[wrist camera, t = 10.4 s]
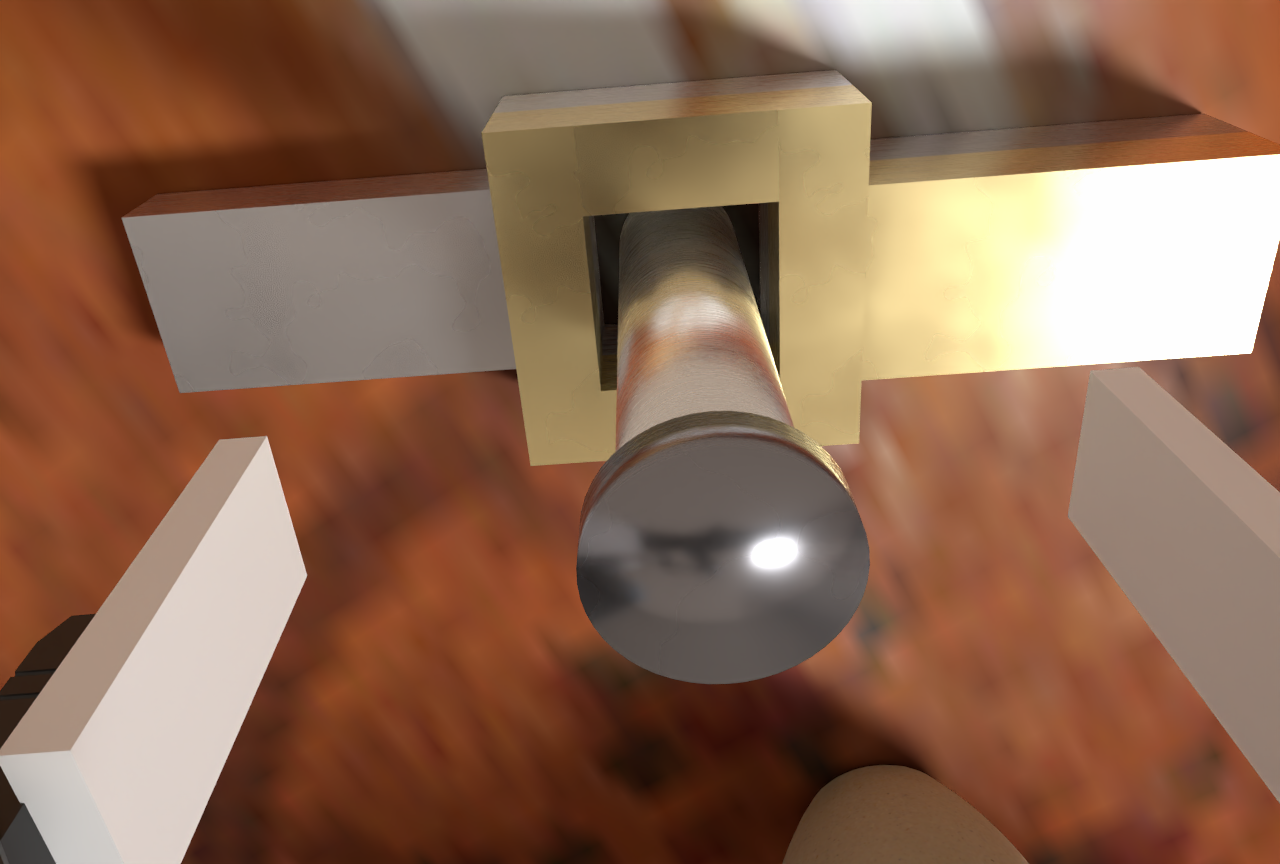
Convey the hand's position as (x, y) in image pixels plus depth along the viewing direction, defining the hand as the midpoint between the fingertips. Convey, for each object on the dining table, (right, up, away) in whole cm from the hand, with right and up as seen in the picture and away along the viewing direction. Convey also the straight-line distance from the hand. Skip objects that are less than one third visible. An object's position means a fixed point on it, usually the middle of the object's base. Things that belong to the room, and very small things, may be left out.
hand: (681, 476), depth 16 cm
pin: (0, +6, +10) cm, 11 cm away
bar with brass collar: (0, +6, +10) cm, 11 cm away
